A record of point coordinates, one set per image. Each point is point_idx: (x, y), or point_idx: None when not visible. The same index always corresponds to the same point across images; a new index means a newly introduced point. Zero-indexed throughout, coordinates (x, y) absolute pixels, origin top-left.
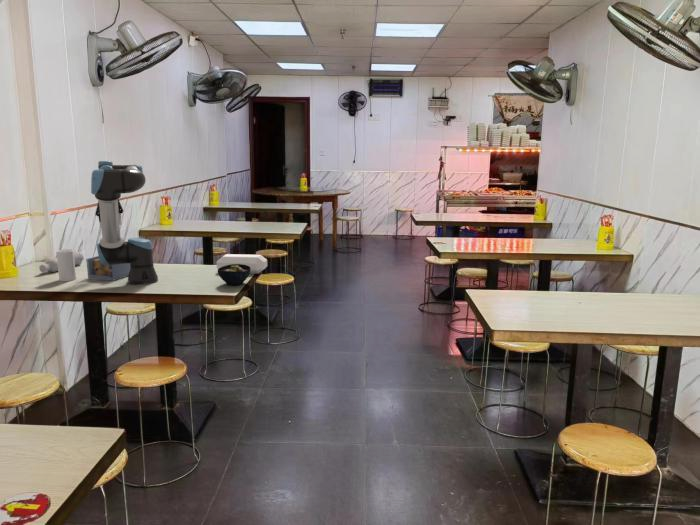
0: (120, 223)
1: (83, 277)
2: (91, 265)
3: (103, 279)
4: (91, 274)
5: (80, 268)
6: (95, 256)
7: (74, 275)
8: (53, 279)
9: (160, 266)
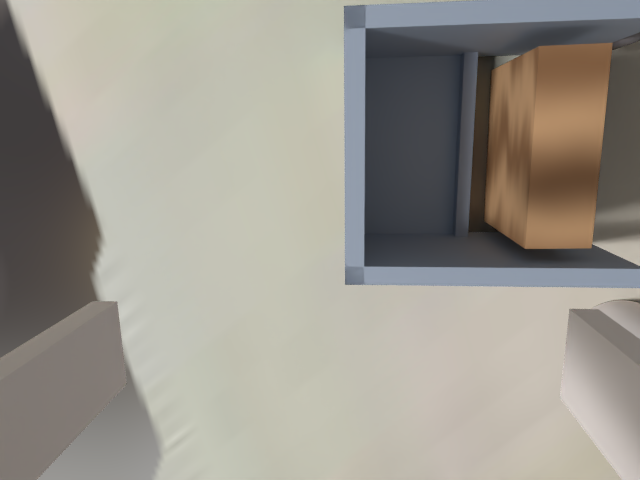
0: (101, 310)
1: (545, 292)
2: (578, 251)
3: None
4: None
5: (332, 468)
6: (524, 284)
7: (628, 310)
8: None
9: (101, 12)
